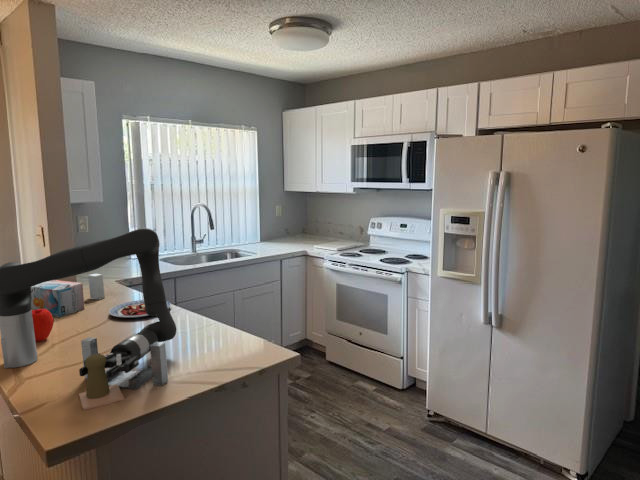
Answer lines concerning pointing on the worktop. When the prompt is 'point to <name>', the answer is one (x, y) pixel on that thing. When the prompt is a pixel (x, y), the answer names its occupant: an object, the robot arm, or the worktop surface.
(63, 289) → the soda box
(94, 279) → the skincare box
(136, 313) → the ceramic plate
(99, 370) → the cork
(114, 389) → the tile
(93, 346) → the grey u-shaped stand
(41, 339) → the apple
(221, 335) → the worktop surface
